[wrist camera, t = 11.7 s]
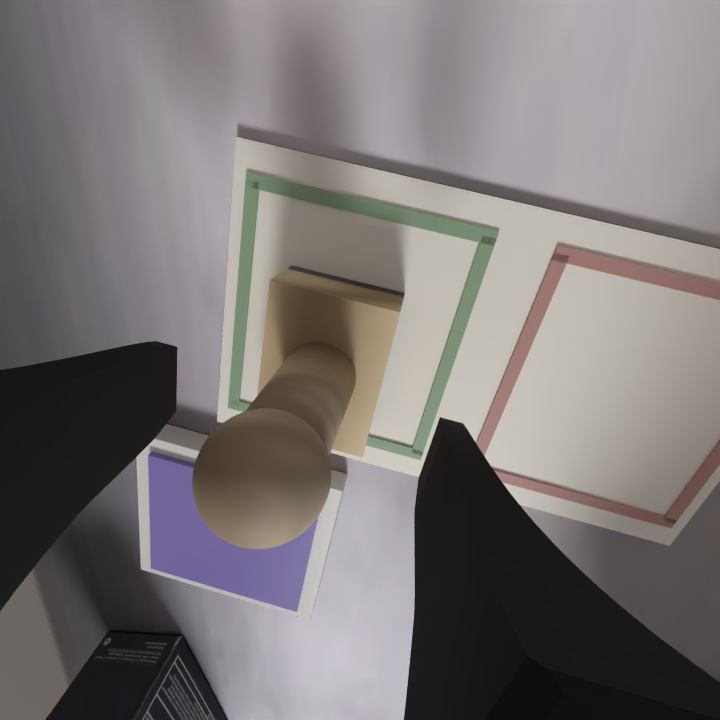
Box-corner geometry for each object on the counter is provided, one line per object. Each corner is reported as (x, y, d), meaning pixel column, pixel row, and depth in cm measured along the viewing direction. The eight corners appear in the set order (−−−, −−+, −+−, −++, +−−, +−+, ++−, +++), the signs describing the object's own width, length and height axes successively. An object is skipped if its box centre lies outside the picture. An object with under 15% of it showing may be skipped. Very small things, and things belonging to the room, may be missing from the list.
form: (861, 282, 13) (874, 285, 13) (666, 540, 18) (670, 547, 18) (239, 137, 14) (234, 136, 14) (220, 418, 20) (216, 422, 19)
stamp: (404, 292, 16) (370, 437, 7) (371, 423, 18) (316, 643, 10) (292, 265, 16) (128, 373, 7) (274, 397, 18) (139, 590, 10)
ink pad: (347, 474, 20) (341, 496, 18) (315, 599, 24) (308, 625, 23) (151, 419, 20) (131, 437, 19) (153, 551, 25) (137, 574, 23)
